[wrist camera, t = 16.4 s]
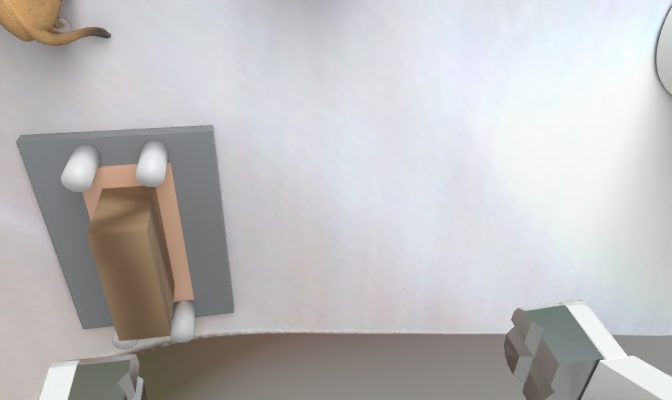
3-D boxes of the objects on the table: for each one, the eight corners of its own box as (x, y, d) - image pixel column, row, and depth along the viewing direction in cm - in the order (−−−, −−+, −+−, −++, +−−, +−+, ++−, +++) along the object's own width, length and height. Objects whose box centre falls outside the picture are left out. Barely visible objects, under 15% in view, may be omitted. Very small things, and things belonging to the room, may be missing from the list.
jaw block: (155, 184, 42) (146, 230, 37) (174, 285, 48) (169, 335, 44) (102, 188, 42) (86, 235, 37) (129, 289, 48) (119, 341, 43)
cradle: (212, 125, 41) (212, 153, 38) (233, 305, 53) (234, 340, 49) (20, 135, 39) (0, 166, 36) (85, 321, 51) (74, 359, 47)
